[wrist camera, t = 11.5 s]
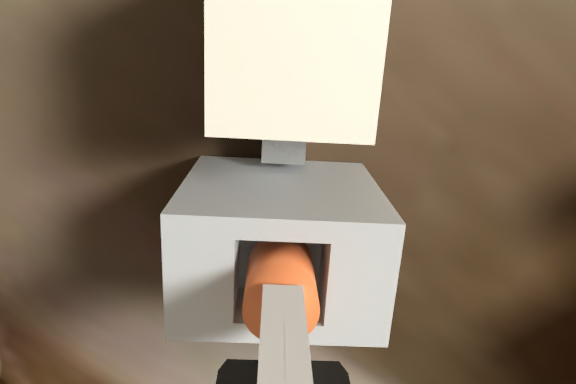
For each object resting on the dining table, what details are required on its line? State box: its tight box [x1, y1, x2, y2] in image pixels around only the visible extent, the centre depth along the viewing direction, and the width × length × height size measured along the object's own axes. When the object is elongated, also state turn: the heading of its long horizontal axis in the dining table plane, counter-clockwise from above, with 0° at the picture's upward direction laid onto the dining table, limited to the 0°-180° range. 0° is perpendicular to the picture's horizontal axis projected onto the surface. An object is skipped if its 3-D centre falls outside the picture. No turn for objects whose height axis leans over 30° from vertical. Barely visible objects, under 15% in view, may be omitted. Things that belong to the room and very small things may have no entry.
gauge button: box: [242, 241, 320, 339], centre depth 19 cm, size 3×3×4 cm
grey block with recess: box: [160, 156, 406, 347], centre depth 24 cm, size 6×10×10 cm, turn 87°
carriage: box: [204, 0, 392, 145], centre depth 20 cm, size 8×6×11 cm
